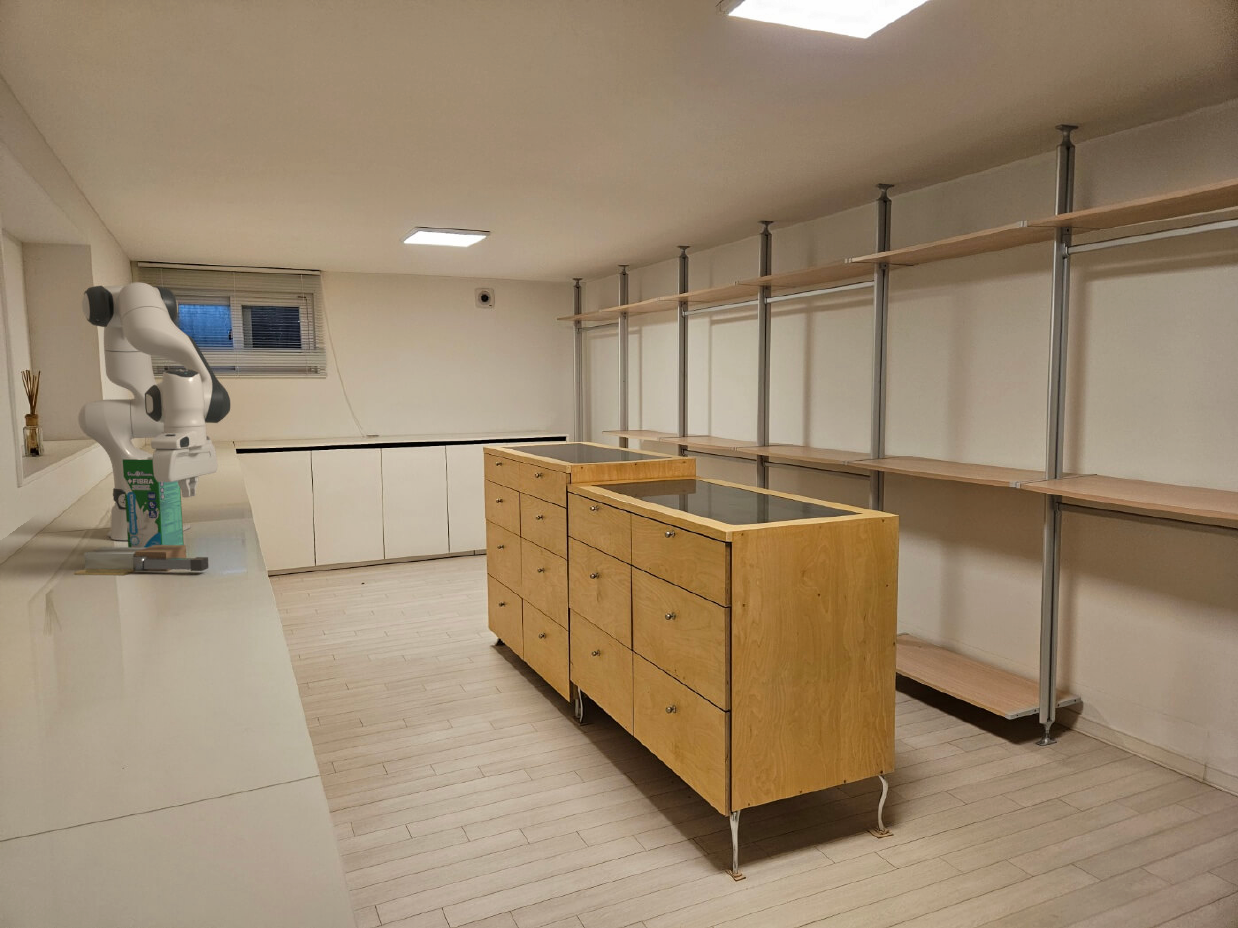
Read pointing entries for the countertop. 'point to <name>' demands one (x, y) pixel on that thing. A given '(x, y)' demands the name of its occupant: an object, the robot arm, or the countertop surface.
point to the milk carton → (151, 506)
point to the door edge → (130, 556)
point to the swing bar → (170, 563)
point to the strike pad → (105, 571)
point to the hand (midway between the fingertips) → (189, 496)
